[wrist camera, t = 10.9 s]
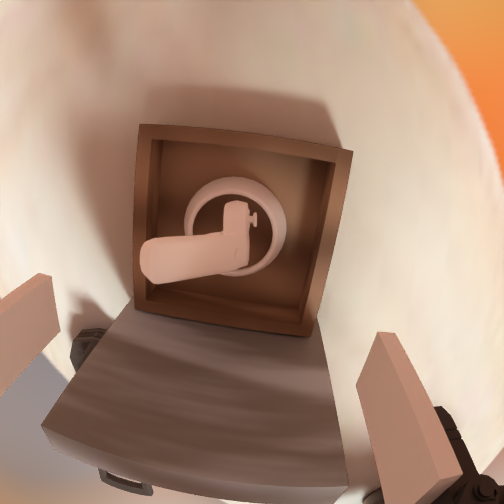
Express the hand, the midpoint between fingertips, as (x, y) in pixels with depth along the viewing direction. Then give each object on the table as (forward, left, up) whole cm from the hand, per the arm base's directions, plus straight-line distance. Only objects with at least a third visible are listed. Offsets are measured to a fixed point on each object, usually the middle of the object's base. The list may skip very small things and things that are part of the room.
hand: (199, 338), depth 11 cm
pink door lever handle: (0, 0, -13) cm, 13 cm away
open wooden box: (-1, 0, -14) cm, 14 cm away
